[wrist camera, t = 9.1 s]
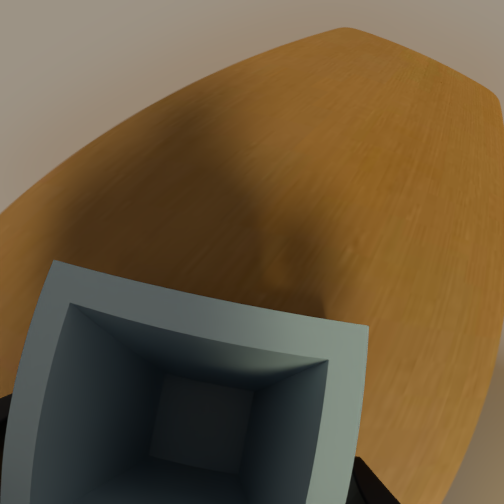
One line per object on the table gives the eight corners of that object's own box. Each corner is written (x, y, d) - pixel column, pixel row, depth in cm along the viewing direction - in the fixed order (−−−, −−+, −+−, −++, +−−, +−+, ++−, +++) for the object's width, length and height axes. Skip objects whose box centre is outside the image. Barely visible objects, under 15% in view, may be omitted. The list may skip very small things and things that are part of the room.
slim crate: (248, 484, 14) (311, 613, 3) (137, 460, 14) (0, 532, 3) (267, 381, 17) (369, 325, 5) (158, 359, 16) (53, 259, 5)
